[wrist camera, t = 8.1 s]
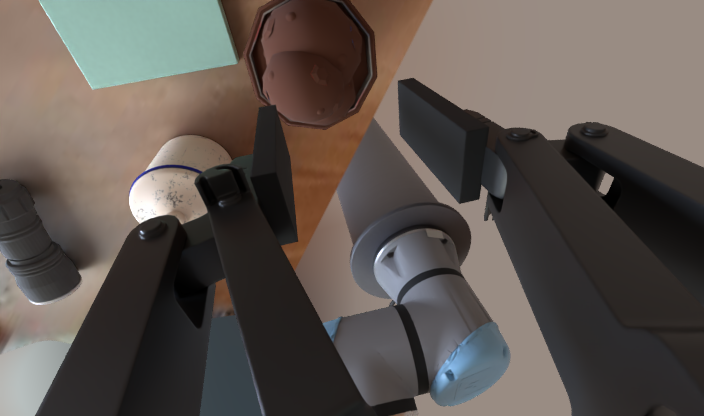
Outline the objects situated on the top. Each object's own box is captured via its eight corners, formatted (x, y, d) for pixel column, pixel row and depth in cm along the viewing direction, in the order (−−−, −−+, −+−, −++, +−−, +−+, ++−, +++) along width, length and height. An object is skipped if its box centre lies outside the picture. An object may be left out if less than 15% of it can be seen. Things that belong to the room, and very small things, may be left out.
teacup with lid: (139, 168, 37) (94, 228, 28) (186, 115, 35) (154, 161, 25) (225, 221, 44) (212, 284, 34) (270, 179, 41) (269, 235, 32)
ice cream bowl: (346, 105, 38) (380, 159, 26) (249, 91, 35) (236, 146, 23) (365, 1, 32) (419, 10, 20) (251, -25, 29) (234, -34, 17)
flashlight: (-26, 176, 34) (-70, 203, 30) (32, 173, 35) (-2, 199, 31) (44, 275, 43) (18, 307, 38) (89, 271, 44) (69, 301, 39)
